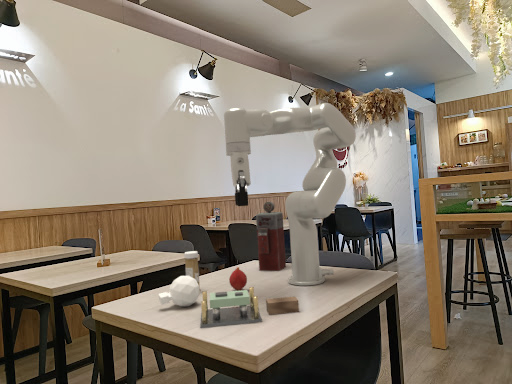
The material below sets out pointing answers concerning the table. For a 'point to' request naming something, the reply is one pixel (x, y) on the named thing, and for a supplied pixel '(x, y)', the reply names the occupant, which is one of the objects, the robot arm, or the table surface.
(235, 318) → the chassis
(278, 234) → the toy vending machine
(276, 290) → the table surface
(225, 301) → the board
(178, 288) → the perfume bottle
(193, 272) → the sprinkles bottle
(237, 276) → the onion
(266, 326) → the table surface
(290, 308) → the walnut stand
